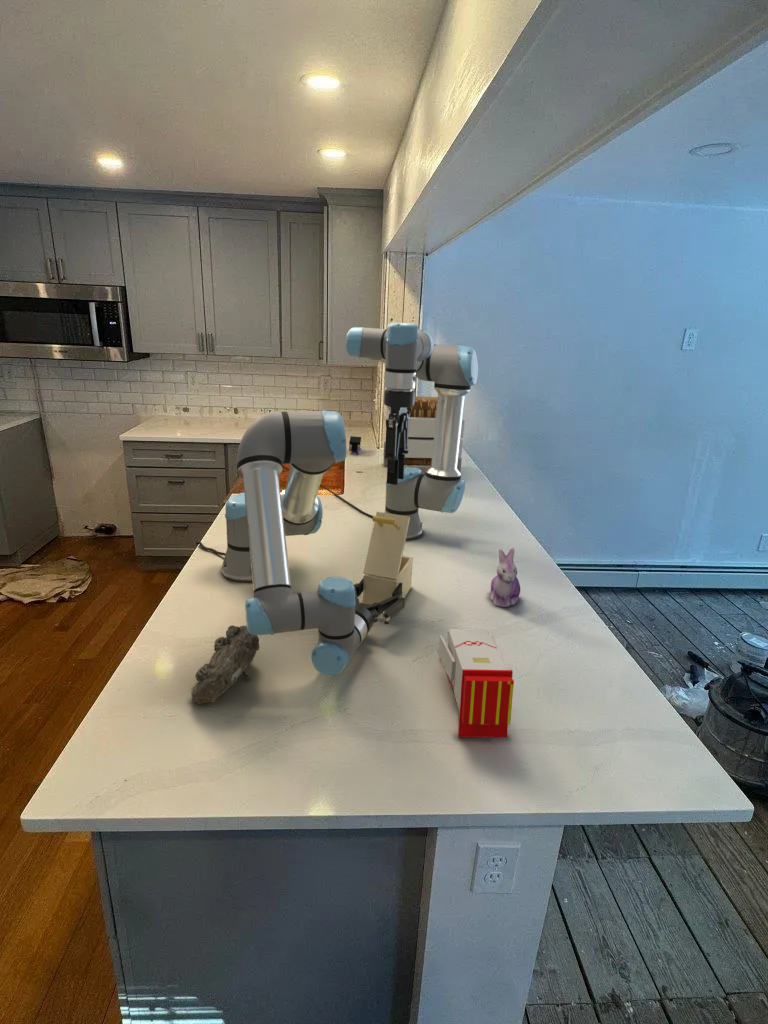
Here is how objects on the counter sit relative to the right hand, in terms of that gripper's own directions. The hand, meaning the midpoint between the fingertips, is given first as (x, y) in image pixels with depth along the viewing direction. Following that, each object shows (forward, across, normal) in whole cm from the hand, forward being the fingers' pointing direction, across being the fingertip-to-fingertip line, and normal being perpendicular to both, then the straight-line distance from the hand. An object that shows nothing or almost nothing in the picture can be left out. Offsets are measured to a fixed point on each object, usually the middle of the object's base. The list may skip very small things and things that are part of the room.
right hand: (395, 480), depth 146 cm
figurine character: (+34, +148, +66) cm, 166 cm away
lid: (+16, -5, 0) cm, 17 cm away
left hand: (+27, -7, 0) cm, 28 cm away
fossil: (+33, -48, +21) cm, 61 cm away
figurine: (+33, +9, -31) cm, 46 cm away
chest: (+33, -2, 0) cm, 33 cm away
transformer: (+34, +124, +23) cm, 130 cm away
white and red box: (+33, -34, -28) cm, 55 cm away
